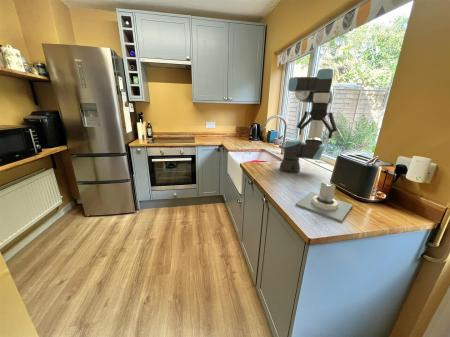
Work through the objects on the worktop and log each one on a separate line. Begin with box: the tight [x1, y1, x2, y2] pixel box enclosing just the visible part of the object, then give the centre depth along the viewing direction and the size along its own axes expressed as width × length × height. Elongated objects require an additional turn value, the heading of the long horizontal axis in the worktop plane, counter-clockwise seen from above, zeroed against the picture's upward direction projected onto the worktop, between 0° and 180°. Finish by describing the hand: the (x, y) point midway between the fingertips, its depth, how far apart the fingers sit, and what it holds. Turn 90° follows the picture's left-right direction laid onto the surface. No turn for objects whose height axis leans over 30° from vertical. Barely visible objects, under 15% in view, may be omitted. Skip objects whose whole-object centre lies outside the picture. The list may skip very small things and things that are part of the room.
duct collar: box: [318, 182, 337, 204], centre depth 90 cm, size 6×6×10 cm
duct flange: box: [295, 191, 354, 223], centre depth 92 cm, size 20×20×3 cm
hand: (313, 142), depth 105 cm, fingers open, 13 cm apart
